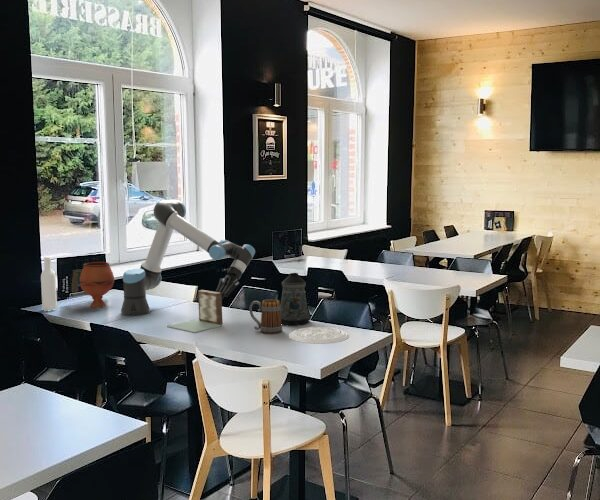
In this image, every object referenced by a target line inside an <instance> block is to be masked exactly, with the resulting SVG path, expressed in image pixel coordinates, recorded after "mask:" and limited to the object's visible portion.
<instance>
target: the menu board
mask: <svg viewBox="0 0 600 500" xmlns="http://www.w3.org/2000/svg"><path fill="white" fill-rule="evenodd" d="M197 299H198V300H197V301H198V321H203V322H208V323H213V324H218V325H223V324H224V323H223V299H222V296H221V293H220V292H216V291H213V290H205V289H200V290H197Z"/></svg>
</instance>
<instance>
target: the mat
mask: <svg viewBox="0 0 600 500" xmlns="http://www.w3.org/2000/svg"><path fill="white" fill-rule="evenodd" d="M221 326H222V324H220V325H218V324H213V323H208V322H203V321H199V319H197V320H196V319H192V320H191V319H190V320H188V321H182V322H179V323H175V324H170V325H167V328H170V329H175V330H178V331H184V332H188V333H192V334H193V333H194V334H196V333H200V332H204V331H208V330H211V329H215V328H219V327H221Z"/></svg>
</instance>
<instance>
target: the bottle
mask: <svg viewBox="0 0 600 500" xmlns="http://www.w3.org/2000/svg"><path fill="white" fill-rule="evenodd" d="M43 267H44V269H43V270H42V272H41V274H40V283H41V285H40V286H41V303H42V305H41V309H42V311H43V310H45V311H44V312H46V311H48V310H53V309H57V310H58V298H57V297H58V294H57V278H56V277H57V275H56V272H55V271H54V269H52V257H51V256H44V257H43ZM48 312H49V311H48Z"/></svg>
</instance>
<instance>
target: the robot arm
mask: <svg viewBox="0 0 600 500" xmlns="http://www.w3.org/2000/svg"><path fill="white" fill-rule="evenodd" d="M186 210H187V209H186V207H185V204H184V203H183V202H182V201H181V200H178V199H174V198H173V199H169V200H168V199H166V200H165V199H164V200H160V201H158V202H157V203H156V204H155V205H154V208H153V215H154V218H155V219H156V220H157V222H158V226H157V229H156V231H155V233H154V234H155V235H154V237H153V239H152V242H151V245H150V247H149V250H148V253H147V256H146V259H145V261H144V262H142V263H141V264H140V267H139V268H132V269H128V270H126V271H124V272H123V277H122V282H123V283H122V284H123V302H122V305H121V309H120V314H122V315H123V316H141V315H147V314H150V312H151V311H150V306H149V303H148V300H147V291H149V290H153V289H155V288H156V287H158V286H160V284H161V283H162V278H163V277H162V275H161V273H162V268H161V266H162V263H163V260H164V257H165V254H166V252H167V249H168V246H169V242H170V241H171V237H172V235H173V232H174V231H175V232H177V233H179V234H180V235H182V236H183V237H184V238H186V239H188V240H189V241H190V242H192V243H193V244H195V245H196V246H197V247H199V248H201V249H203V250H204V251H205V252H206V253H208V254H209V257H210V258H211V259H213V260H214V261H215V260H217V261H218V260H222V259H224V258H227V257H229V258H231V259H234V260H233V262H232V263H231V265H230V266H229V268H228V269H227V272H226V275H225V276H224V277H223V278H222V277H221V278H219V282H218V284H217V287H216V289H215V292H220V293H221V296H222V300H223V299H224V298H225V297H226V298H228V297H229V296H230V295H231V293H232V292H233V291H234V290H235V289H236V288H237V287H238V286H239V285H240V282H239V281H238V280H240V279H241V277H242V275H243V273H244V272H245V270H246V268H247V267H248V266H249V264H250V262H251V261H252V260H253V258H254V256H255V254H256V249H255V248H254V247H253V246H252V245H251V244H247V243H246V244H243V245H242V246H241V245H238V244H236V243H233V242H231V241H229V240H227V239H220V241H217V240H216V239H214V238H213V237H212V236H210V235H209V234H207V233H206V232H204V231H203V230H201V229H200V228H198V227H196V226H195V225H194V224H192V223H191V222H190V221H187V220H186V219H185V217H186V213H187V211H186Z"/></svg>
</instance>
